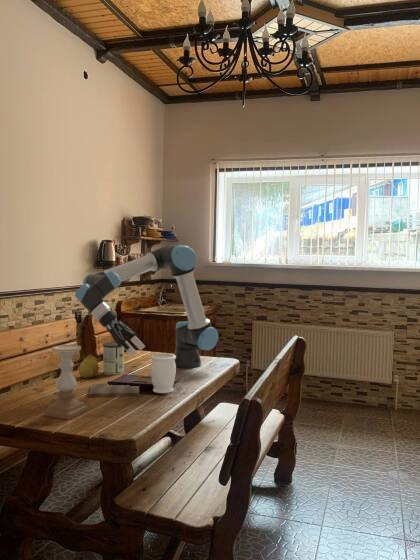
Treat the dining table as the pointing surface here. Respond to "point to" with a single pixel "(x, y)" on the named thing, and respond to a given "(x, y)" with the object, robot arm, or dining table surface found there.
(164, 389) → the jar
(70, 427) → the dining table surface
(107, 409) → the dining table surface
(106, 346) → the coffee can
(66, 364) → the candle holder
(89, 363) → the fruit
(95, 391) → the walnut board
